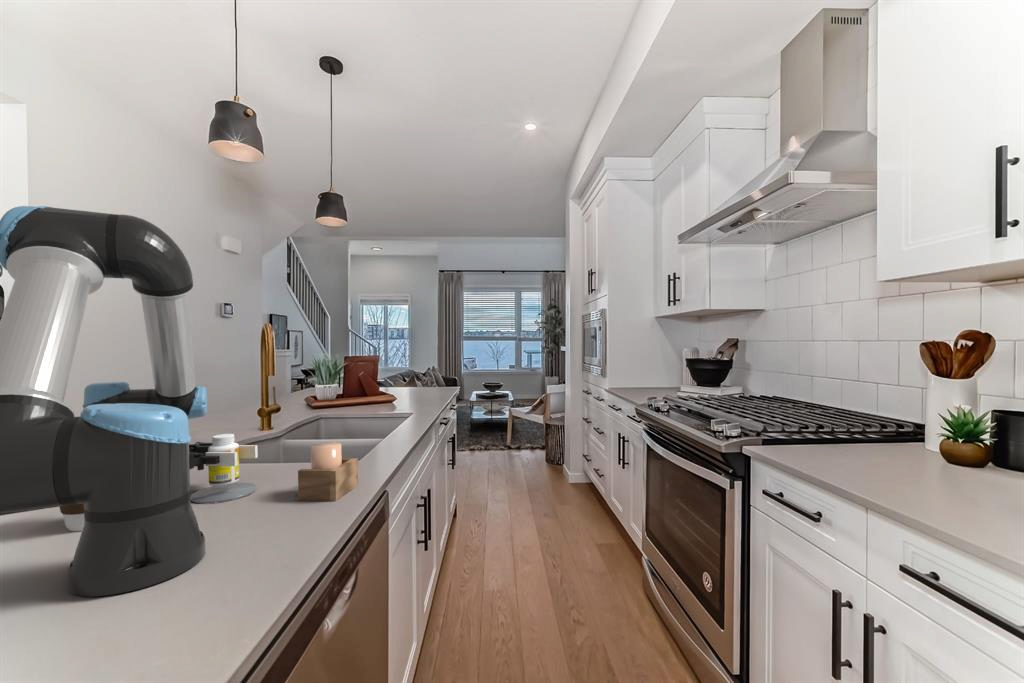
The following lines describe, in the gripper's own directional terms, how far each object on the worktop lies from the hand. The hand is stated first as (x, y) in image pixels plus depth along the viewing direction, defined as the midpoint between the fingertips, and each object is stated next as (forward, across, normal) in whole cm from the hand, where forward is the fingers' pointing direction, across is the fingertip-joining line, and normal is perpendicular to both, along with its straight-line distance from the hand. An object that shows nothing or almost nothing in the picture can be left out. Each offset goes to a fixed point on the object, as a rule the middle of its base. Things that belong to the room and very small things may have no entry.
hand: (246, 455), depth 96 cm
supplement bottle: (-5, 0, -6) cm, 8 cm away
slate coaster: (-5, 0, -8) cm, 10 cm away
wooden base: (+17, -2, -8) cm, 19 cm away
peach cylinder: (+17, -2, -8) cm, 19 cm away
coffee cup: (-17, +17, -8) cm, 26 cm away
